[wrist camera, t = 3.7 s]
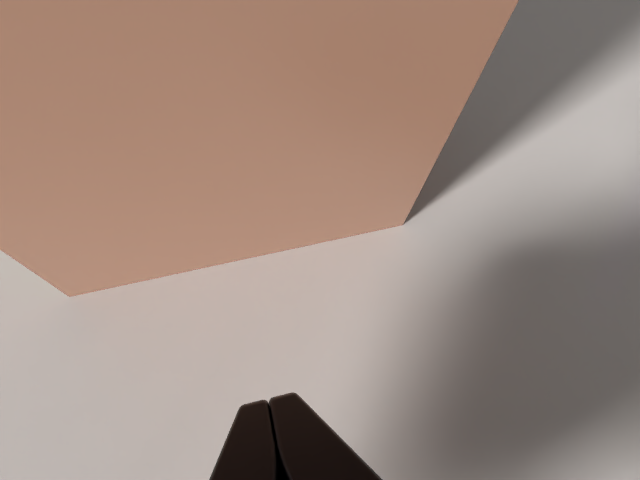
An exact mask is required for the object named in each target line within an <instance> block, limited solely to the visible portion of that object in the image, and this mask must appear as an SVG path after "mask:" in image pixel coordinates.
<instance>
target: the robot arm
mask: <svg viewBox="0 0 640 480" xmlns="http://www.w3.org/2000/svg"><path fill="white" fill-rule="evenodd" d="M209 480H382V479H381V478H380V477H379V476H378V475H377V474H376V473H375V472H374V471H373V470H372V469H371V468H370V467H369V466H368V465H367V464H366V463H365V462H364V461H363V460H362V459H361V458H360V457H359V456H358V455H357V454H356V453H355V452H354V451H353V450H352V449H351V448H350V447H349V446H348V445H347V444H346V443H345V442H344V441H343V440H342V439H341V438H340V437H339V436H338V435H337V434H336V433H335V432H334V431H333V430H332V429H331V428H330V427H329V426H328V425H327V424H326V423H325V422H324V421H323V420H322V419H321V418H320V417H319V416H318V415H317V413H316V412H315V411H314V410H313V409H312V408H311V407H310V406H309V405H308V404H307V403H306V402H305V401H304V400H303V399H302V398H301V397H300V396H299V395H297V394H296V393H288V394H284V395H280V396H276V397H273V398H271V399H270V401H269V403H268V402H267V401H266V400H260V401H256V402H252V403H248V404H244V405H242V406H241V407H240V408H239V410H238V412H237V415H236V417H235V419H234V422H233V424H232V427H231V429H230V431H229V434H228V436H227V439H226V441H225V443H224V446H223V448H222V451H221V453H220V455H219V458H218V460H217V463H216V465H215V467H214V470H213V472H212V474H211V477H210V479H209Z"/></svg>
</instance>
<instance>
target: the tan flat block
mask: <svg viewBox="0 0 640 480" xmlns="http://www.w3.org/2000/svg"><path fill="white" fill-rule="evenodd" d="M518 1H519V0H0V250H1V251H3V252H4V253H6V254H7V255H9V256H10V257H12V258H13V259H15V260H16V261H18V262H19V263H20V264H22V265H23V266H25V267H26V268H28V269H29V270H31V271H32V272H34V273H35V274H37V275H38V276H40V277H41V278H42V279H44V280H45V281H47V282H48V283H50V284H51V285H53V286H54V287H56V288H57V289H59V290H60V291H62V292H63V293H64V294H66V295H67V296H69V297H71V296H76V295H80V294H85V293H90V292H94V291H99V290H104V289H108V288H113V287H117V286H122V285H127V284H131V283H136V282H141V281H145V280H150V279H155V278H159V277H164V276H169V275H173V274H178V273H182V272H187V271H192V270H196V269H201V268H206V267H210V266H215V265H220V264H224V263H229V262H234V261H238V260H243V259H247V258H252V257H257V256H261V255H266V254H271V253H275V252H280V251H285V250H289V249H294V248H299V247H303V246H308V245H312V244H317V243H322V242H326V241H331V240H336V239H340V238H345V237H350V236H354V235H359V234H364V233H368V232H373V231H377V230H382V229H387V228H391V227H396V226H401V225H403V224H404V222H405V220H406V218H407V216H408V214H409V212H410V210H411V208H412V206H413V205H414V203H415V201H416V199H417V197H418V195H419V193H420V191H421V189H422V187H423V185H424V183H425V181H426V179H427V177H428V175H429V173H430V172H431V170H432V168H433V166H434V164H435V162H436V160H437V158H438V156H439V154H440V152H441V150H442V148H443V146H444V144H445V142H446V141H447V139H448V137H449V135H450V133H451V131H452V129H453V127H454V125H455V123H456V121H457V119H458V117H459V115H460V113H461V111H462V109H463V108H464V106H465V104H466V102H467V100H468V98H469V96H470V94H471V92H472V90H473V88H474V86H475V84H476V82H477V80H478V78H479V76H480V75H481V73H482V71H483V69H484V67H485V65H486V63H487V61H488V59H489V57H490V55H491V53H492V51H493V49H494V47H495V45H496V44H497V42H498V40H499V38H500V36H501V34H502V32H503V30H504V28H505V26H506V24H507V22H508V20H509V18H510V16H511V14H512V12H513V11H514V9H515V7H516V5H517V3H518Z"/></svg>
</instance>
